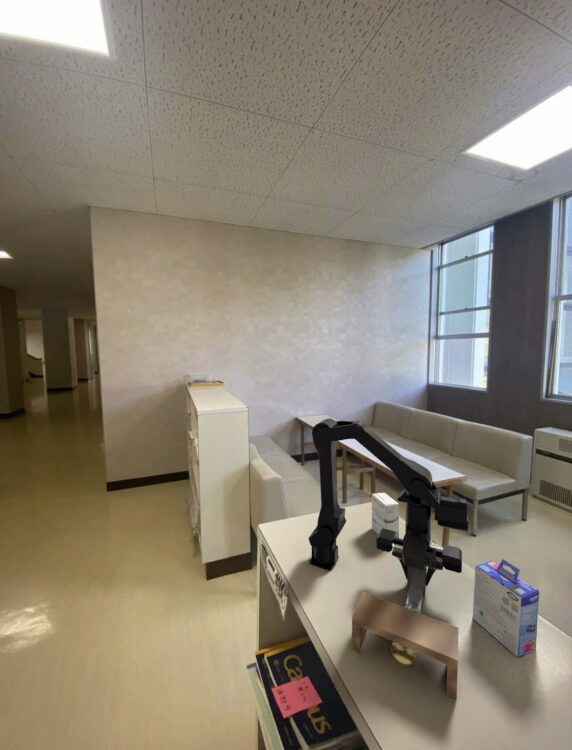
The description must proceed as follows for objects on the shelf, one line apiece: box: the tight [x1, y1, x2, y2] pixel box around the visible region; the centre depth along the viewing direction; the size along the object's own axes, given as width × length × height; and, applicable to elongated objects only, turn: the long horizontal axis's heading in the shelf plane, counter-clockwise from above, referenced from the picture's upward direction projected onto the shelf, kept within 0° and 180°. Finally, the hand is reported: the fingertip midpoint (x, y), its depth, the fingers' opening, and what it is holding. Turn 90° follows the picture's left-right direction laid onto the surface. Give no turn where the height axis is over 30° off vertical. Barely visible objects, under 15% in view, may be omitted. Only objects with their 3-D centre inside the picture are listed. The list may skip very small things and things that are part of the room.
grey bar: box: [404, 566, 428, 614], centre depth 70 cm, size 4×18×7 cm, turn 151°
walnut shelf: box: [351, 591, 460, 700], centre depth 59 cm, size 18×7×7 cm, turn 60°
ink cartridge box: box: [472, 558, 540, 657], centre depth 64 cm, size 10×6×14 cm, turn 20°
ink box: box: [371, 492, 400, 538], centre depth 99 cm, size 9×5×12 cm, turn 15°
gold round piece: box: [390, 641, 417, 669], centre depth 60 cm, size 4×4×2 cm
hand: (417, 581), depth 76 cm, fingers closed on grey bar, 4 cm apart
